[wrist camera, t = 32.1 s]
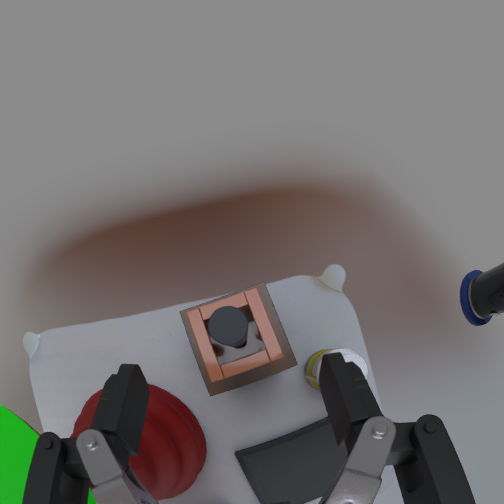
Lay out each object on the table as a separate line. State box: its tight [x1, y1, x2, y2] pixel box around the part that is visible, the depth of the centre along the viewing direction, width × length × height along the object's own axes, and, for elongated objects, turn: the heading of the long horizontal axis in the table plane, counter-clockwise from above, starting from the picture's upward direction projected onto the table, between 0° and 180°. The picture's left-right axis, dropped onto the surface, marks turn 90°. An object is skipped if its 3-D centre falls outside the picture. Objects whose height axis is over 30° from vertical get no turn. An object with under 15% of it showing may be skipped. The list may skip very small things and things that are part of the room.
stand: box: [180, 282, 298, 396], centre depth 32 cm, size 9×9×14 cm
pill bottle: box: [305, 348, 368, 390], centre depth 32 cm, size 6×6×11 cm
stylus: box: [208, 306, 248, 348], centre depth 18 cm, size 2×2×14 cm
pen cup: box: [187, 287, 284, 382], centre depth 22 cm, size 5×5×8 cm
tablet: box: [235, 416, 348, 504], centre depth 31 cm, size 18×14×1 cm
